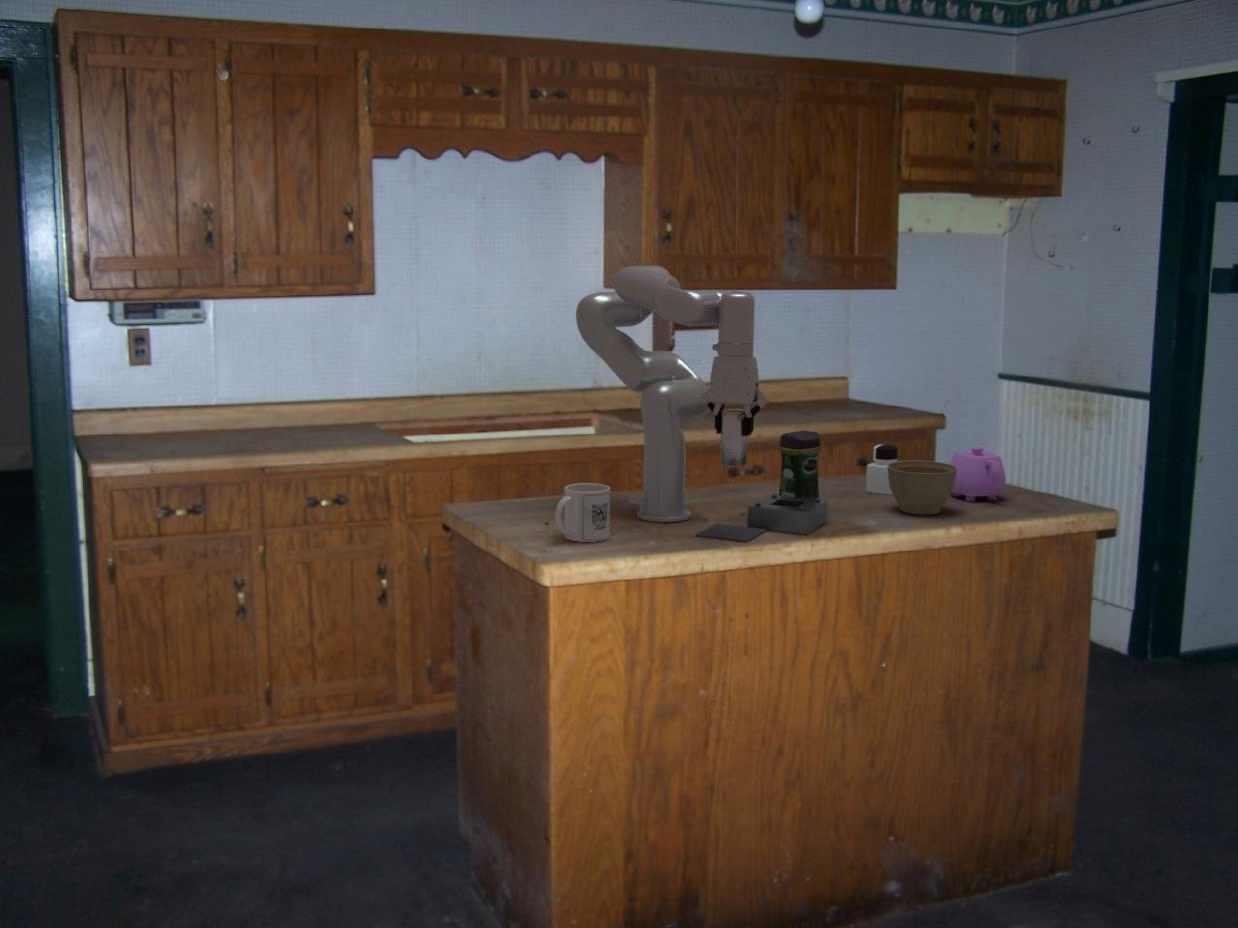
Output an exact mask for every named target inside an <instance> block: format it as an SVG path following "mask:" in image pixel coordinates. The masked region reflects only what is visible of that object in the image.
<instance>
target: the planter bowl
mask: <svg viewBox="0 0 1238 928" xmlns="http://www.w3.org/2000/svg"><path fill="white" fill-rule="evenodd" d="M887 469H888V479H889V485H890V489H891V491H892V493H893V495H892V496H893V497H894V499H895V500H896V502H897V503H898V506H899V510H900V511H901V512H903V513H907V514H913V515H921V516H924V515H925V516H926V515H929V516H930V515H936V514H939V513H940V512H941V511H942V508H943V506H944V504H945V503H946V502H947V501H948V499H949V498H950V496H952V492H953V491H952V490H953V487H954V484H955V479H956V473H957V467H955V466H953V465H950V463H945V462H940V461H932V460H915V459H914V460H899V461H898V460H897V462H893V463H890V464H888V465H887Z"/></svg>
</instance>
